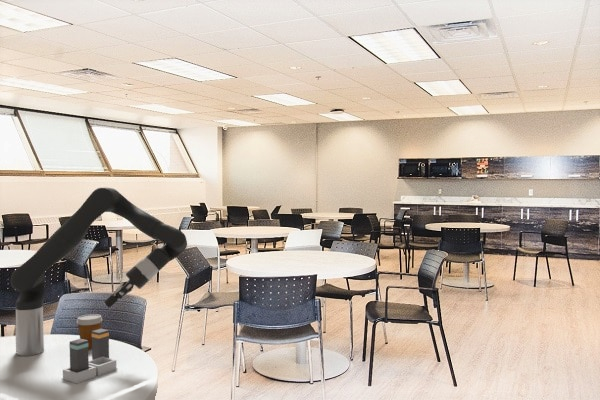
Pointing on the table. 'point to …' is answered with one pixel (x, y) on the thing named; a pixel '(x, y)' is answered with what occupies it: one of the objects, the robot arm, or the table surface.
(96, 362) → the grey double socket holder
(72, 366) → the twin plug
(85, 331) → the disposable coffee cup
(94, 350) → the plug
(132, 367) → the table surface
